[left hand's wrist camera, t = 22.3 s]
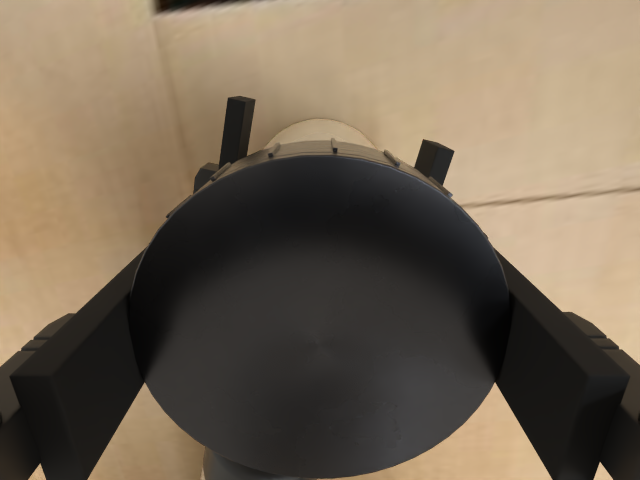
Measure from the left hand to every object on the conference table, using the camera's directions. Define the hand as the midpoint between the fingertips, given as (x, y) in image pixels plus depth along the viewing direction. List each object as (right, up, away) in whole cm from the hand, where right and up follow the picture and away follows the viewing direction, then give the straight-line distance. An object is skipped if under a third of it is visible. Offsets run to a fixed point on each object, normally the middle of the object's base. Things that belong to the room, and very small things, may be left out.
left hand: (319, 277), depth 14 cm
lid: (0, -1, -3) cm, 3 cm away
